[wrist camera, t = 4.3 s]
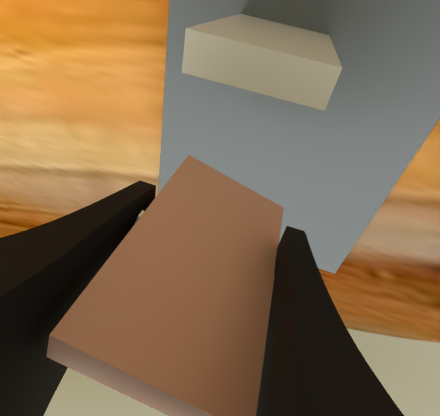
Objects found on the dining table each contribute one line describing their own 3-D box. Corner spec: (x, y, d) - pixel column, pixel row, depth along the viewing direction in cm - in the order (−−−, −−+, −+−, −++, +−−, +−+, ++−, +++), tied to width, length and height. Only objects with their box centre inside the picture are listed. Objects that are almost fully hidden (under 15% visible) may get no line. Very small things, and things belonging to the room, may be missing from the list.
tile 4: (329, 35, 14) (342, 67, 8) (319, 61, 15) (324, 111, 9) (238, 12, 15) (182, 27, 8) (233, 39, 15) (178, 71, 9)
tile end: (283, 207, 12) (253, 434, 6) (268, 225, 13) (227, 444, 7) (186, 153, 12) (44, 332, 6) (176, 175, 13) (41, 355, 6)
